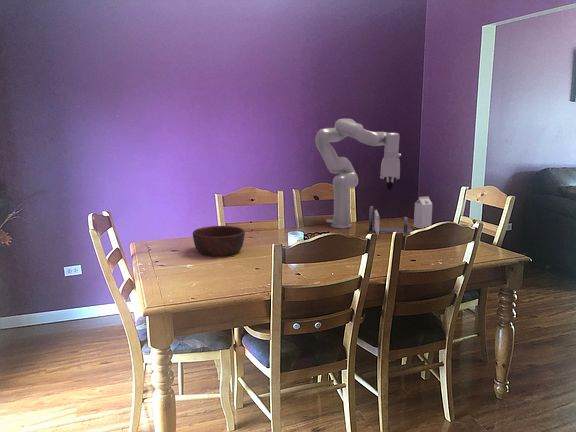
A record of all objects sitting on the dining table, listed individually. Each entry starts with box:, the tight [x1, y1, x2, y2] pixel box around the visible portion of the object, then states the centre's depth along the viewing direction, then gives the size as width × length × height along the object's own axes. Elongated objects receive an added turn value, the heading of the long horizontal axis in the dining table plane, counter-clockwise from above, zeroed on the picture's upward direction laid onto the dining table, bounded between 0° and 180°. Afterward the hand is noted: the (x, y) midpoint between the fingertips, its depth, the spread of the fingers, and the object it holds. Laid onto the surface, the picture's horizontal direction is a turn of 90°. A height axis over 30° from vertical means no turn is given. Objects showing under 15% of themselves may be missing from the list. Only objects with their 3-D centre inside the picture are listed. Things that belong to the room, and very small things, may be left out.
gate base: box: [367, 205, 414, 235], centre depth 286 cm, size 25×9×14 cm, turn 79°
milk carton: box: [413, 196, 433, 229], centre depth 293 cm, size 7×7×19 cm
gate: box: [373, 209, 381, 236], centre depth 279 cm, size 19×2×10 cm, turn 175°
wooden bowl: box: [192, 225, 245, 258], centre depth 245 cm, size 25×25×10 cm
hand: (389, 189), depth 276 cm, fingers closed
